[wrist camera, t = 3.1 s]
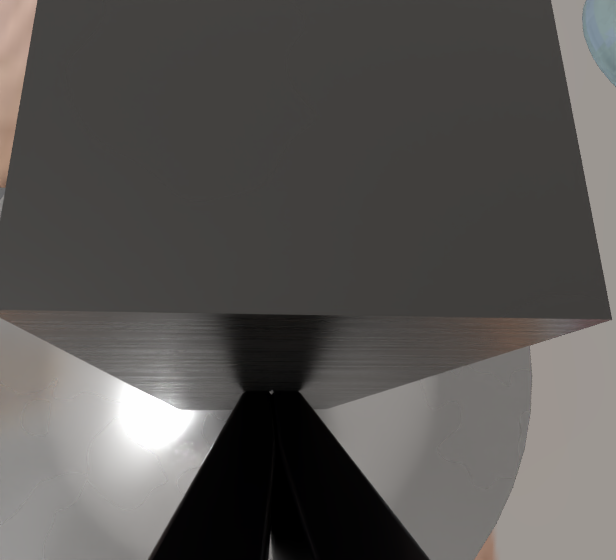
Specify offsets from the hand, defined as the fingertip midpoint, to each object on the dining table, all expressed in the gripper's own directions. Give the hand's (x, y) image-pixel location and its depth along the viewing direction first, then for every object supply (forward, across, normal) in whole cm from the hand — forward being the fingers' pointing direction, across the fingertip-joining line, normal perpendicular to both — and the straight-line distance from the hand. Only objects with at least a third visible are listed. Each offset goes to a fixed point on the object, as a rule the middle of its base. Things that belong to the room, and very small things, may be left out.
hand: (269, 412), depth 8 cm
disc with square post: (+5, 0, +2) cm, 6 cm away
